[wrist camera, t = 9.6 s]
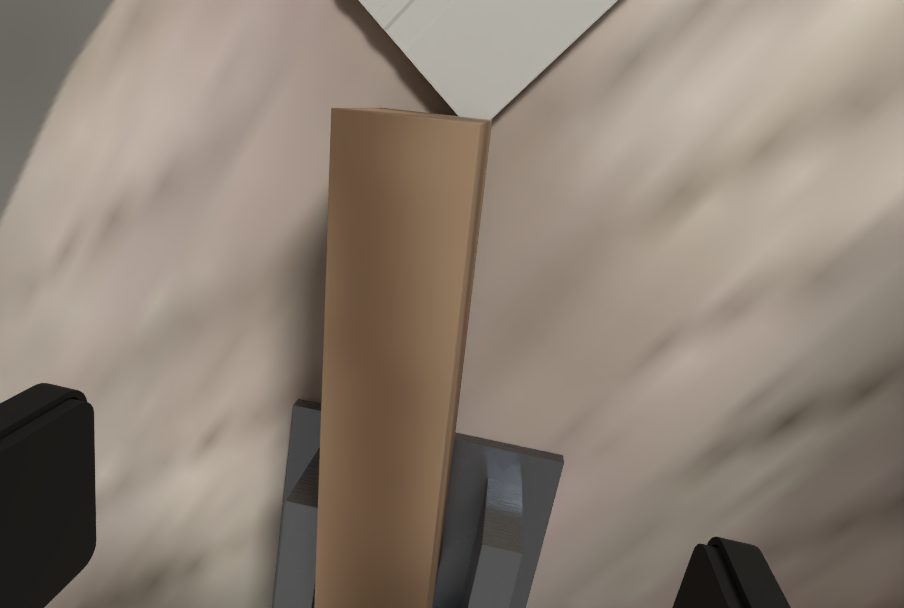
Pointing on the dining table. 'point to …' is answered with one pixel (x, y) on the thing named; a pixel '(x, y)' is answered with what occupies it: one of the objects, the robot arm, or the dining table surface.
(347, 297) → the rail
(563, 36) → the baseboard molding
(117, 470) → the dining table surface
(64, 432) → the robot arm
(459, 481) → the bracket
